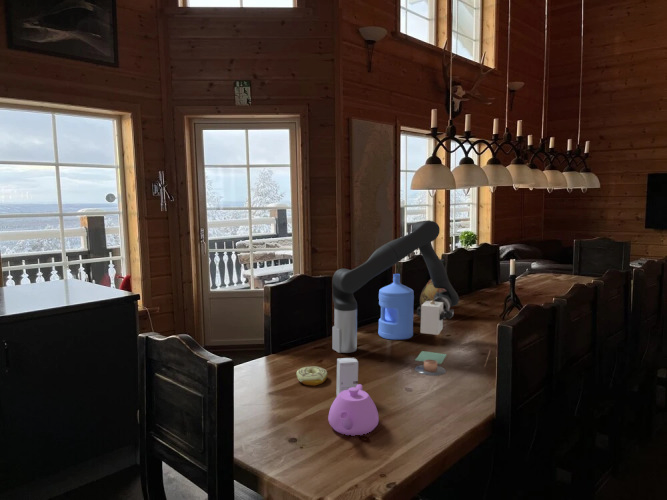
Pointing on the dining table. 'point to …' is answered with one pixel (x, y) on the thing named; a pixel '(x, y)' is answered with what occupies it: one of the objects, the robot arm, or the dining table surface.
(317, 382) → the decorated donut
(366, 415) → the teapot
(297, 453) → the dining table surface
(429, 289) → the ceramic jug
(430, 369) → the clay bowl
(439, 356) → the felt mat
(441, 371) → the slate coaster
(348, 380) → the skincare box
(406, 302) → the water jug
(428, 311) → the ceramic cover
